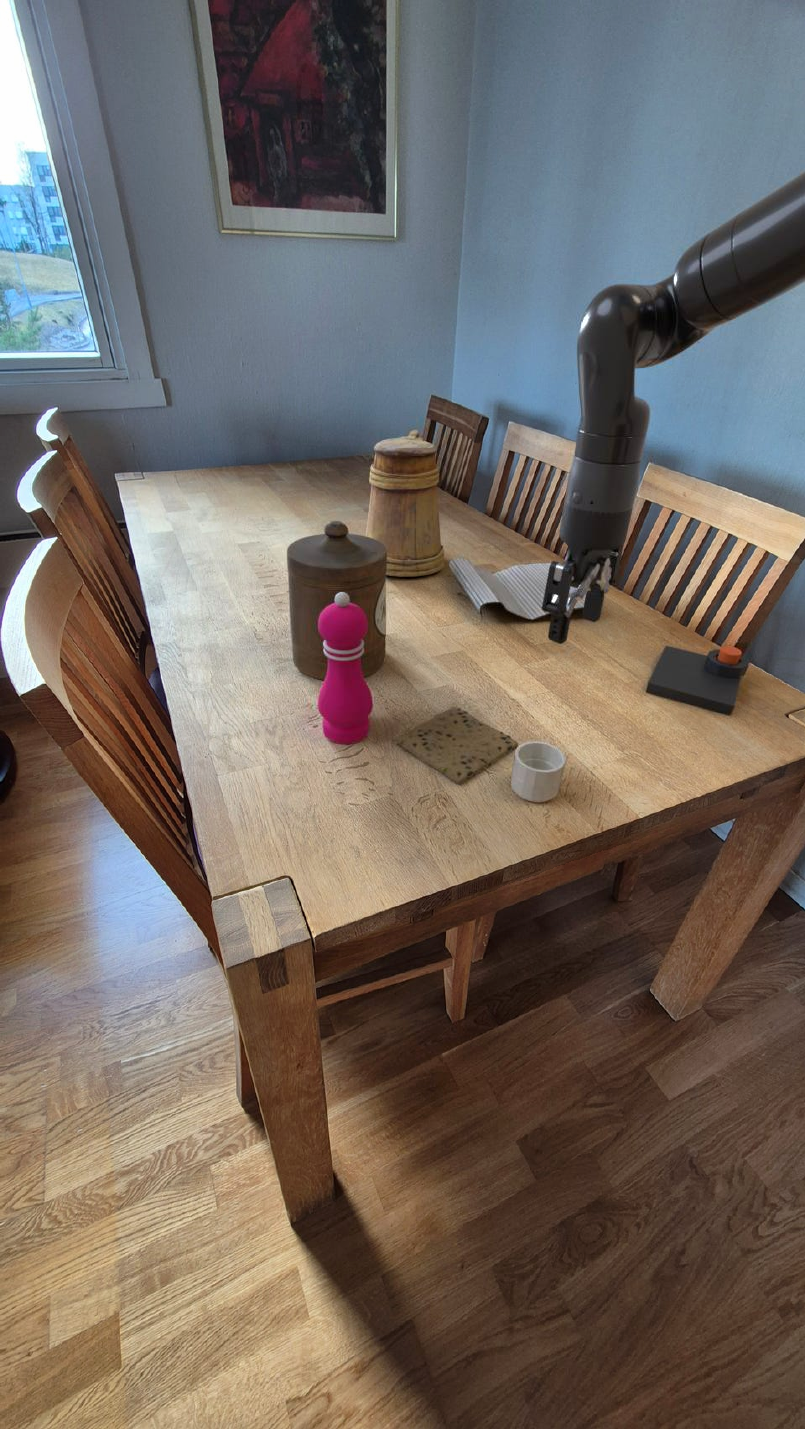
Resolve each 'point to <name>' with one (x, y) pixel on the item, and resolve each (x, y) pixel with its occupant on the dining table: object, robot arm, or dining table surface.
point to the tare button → (729, 655)
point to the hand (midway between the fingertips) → (574, 630)
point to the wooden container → (320, 577)
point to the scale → (697, 679)
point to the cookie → (456, 744)
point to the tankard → (406, 505)
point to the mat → (507, 587)
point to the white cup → (537, 771)
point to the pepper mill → (344, 672)
